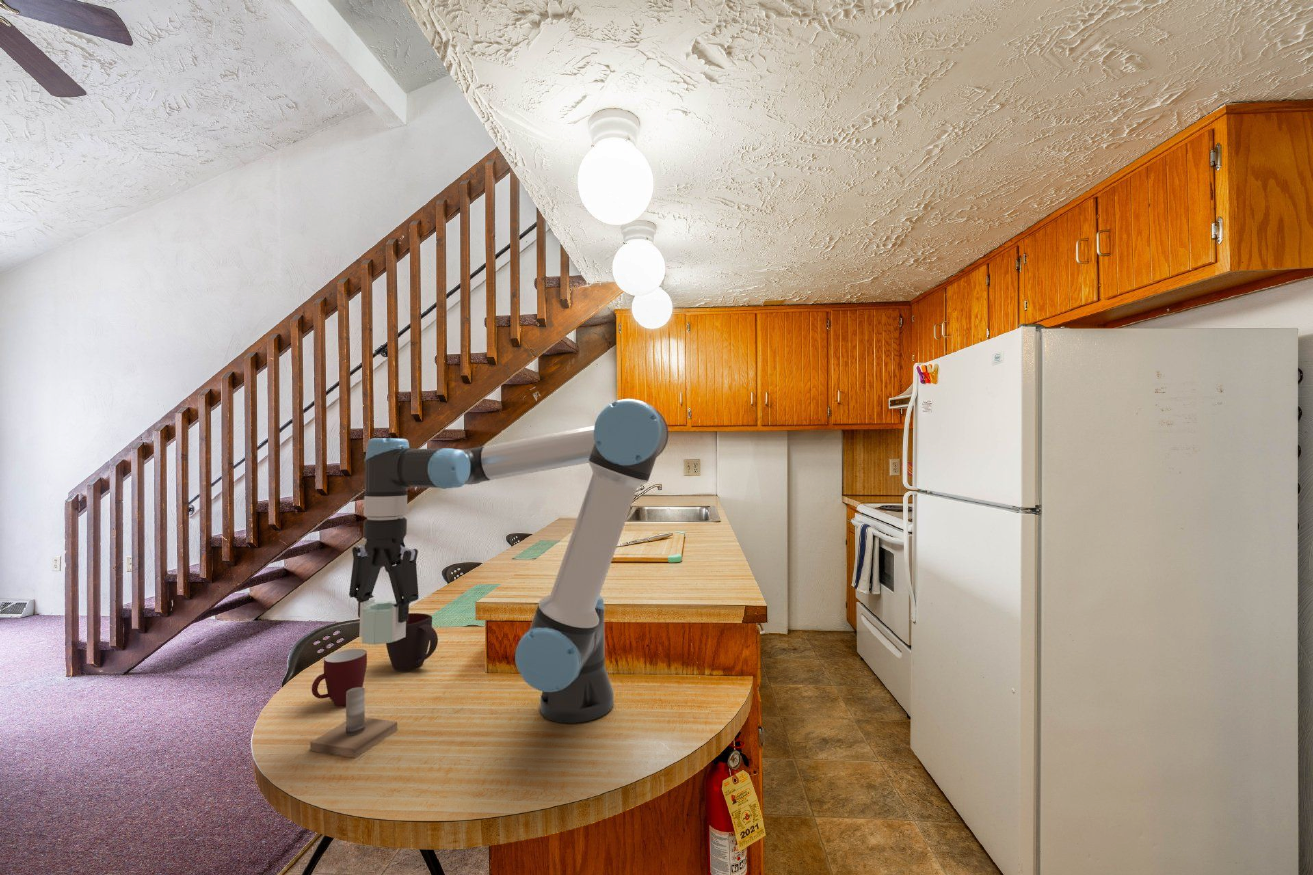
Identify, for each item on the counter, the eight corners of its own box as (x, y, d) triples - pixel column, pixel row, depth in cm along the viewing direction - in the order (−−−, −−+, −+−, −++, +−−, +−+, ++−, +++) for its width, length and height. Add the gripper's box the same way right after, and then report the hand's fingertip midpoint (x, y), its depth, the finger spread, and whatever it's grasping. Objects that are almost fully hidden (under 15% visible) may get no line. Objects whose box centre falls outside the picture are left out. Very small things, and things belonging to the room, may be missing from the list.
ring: (410, 633, 105) (411, 603, 105) (383, 645, 99) (384, 613, 99) (382, 630, 107) (383, 600, 108) (353, 641, 101) (354, 609, 101)
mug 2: (410, 657, 140) (410, 611, 141) (450, 664, 135) (450, 616, 135) (377, 671, 131) (377, 622, 132) (418, 680, 126) (418, 628, 126)
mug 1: (326, 719, 107) (326, 669, 108) (302, 711, 111) (303, 662, 111) (374, 698, 117) (375, 651, 117) (351, 691, 120) (351, 646, 121)
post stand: (397, 729, 103) (397, 682, 103) (355, 757, 93) (355, 705, 93) (355, 723, 105) (355, 677, 106) (310, 750, 96) (310, 699, 96)
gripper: (441, 517, 104) (438, 635, 104) (360, 513, 110) (357, 625, 109) (413, 521, 97) (410, 649, 96) (329, 517, 103) (325, 637, 102)
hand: (382, 636), depth 103 cm, fingers closed on ring, 7 cm apart
